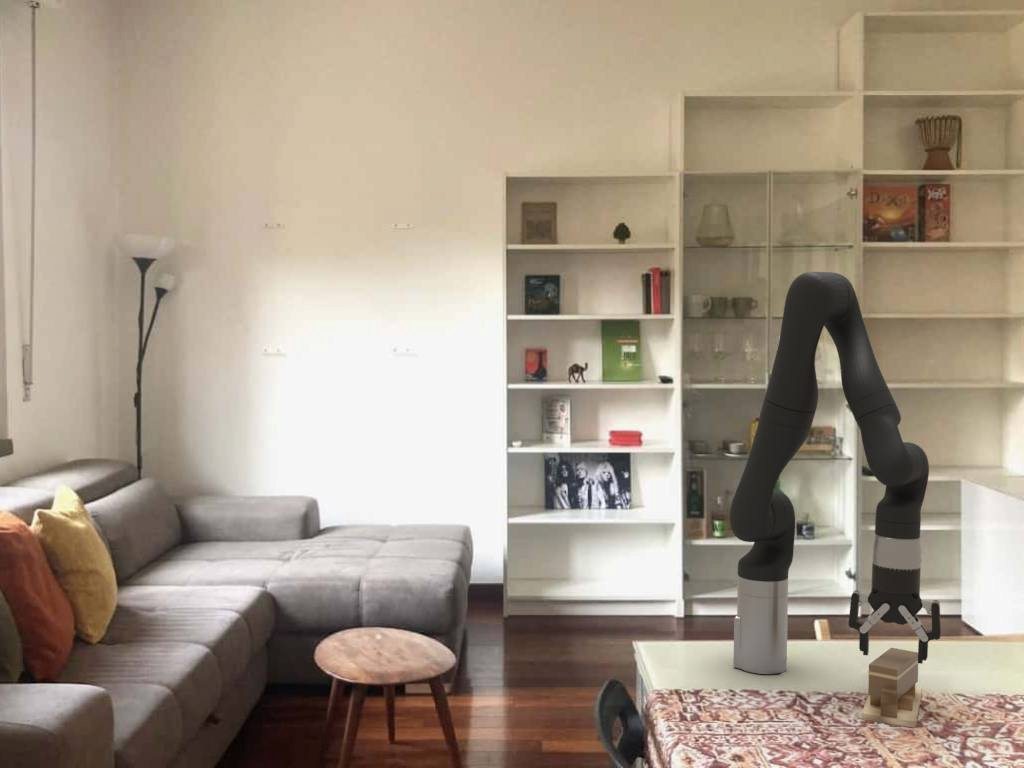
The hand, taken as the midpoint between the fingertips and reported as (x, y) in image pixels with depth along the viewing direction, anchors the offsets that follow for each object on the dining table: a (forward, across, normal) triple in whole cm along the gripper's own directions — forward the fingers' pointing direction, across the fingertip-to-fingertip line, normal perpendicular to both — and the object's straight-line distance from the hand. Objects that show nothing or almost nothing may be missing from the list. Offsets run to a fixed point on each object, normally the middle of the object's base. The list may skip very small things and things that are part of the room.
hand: (892, 658), depth 163 cm
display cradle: (+8, 0, 0) cm, 8 cm away
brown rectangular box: (+5, 0, 0) cm, 5 cm away
